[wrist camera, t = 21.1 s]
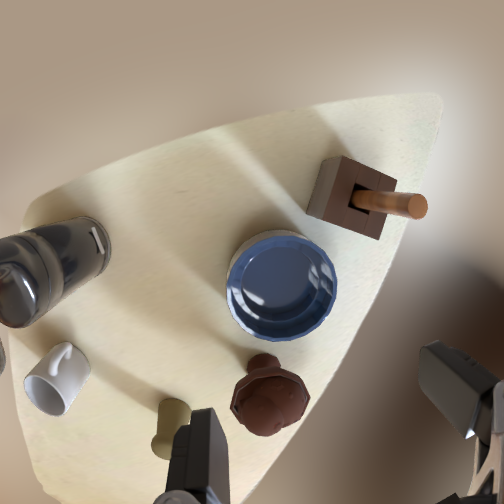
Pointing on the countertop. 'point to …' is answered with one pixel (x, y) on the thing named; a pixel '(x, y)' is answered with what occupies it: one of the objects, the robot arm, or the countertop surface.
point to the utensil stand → (348, 195)
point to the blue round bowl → (280, 285)
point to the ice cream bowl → (268, 397)
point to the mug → (57, 379)
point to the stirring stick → (390, 203)
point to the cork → (169, 425)
